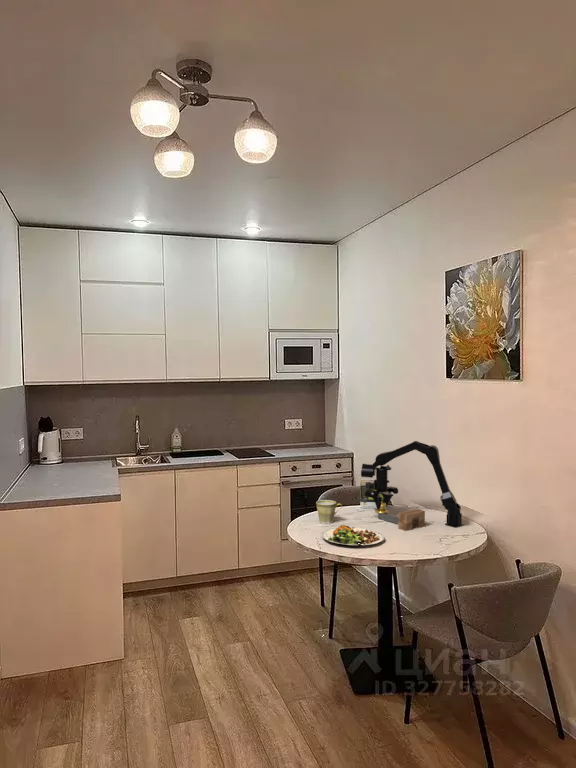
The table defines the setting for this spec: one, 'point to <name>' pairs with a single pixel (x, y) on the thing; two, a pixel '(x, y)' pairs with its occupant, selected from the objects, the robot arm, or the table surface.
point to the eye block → (411, 519)
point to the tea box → (364, 500)
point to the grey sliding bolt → (386, 514)
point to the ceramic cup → (326, 510)
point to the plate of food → (352, 535)
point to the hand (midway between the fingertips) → (381, 508)
